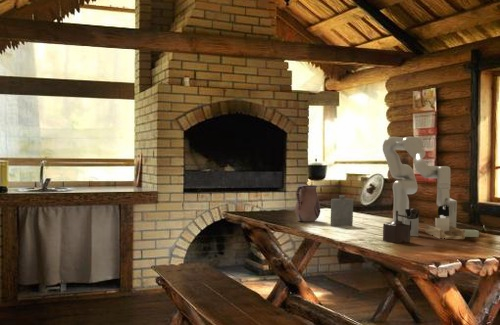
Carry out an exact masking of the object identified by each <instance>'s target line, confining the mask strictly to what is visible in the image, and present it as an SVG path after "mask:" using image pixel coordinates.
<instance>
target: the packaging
mask: <svg viewBox="0 0 500 325" xmlns="http://www.w3.org/2000/svg"><path fill="white" fill-rule="evenodd" d="M449 206H450V207H449V216H443V215H439V218H449V225H450V226H453V227H456V228H457V214H458V213H457V211H458V200H456V199H453V198H451V197H450V205H449ZM445 207H446V206H445ZM443 208H444V207H443Z"/></svg>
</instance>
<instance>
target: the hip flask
mask: <svg viewBox="0 0 500 325" xmlns="http://www.w3.org/2000/svg"><path fill="white" fill-rule="evenodd" d="M338 197H339V198H331V200H330V224H329V226H330V227H353V224H354V223H353V222H354V218H353V217H354V199H353V198H345V197H346V195H340V194H339V196H338Z"/></svg>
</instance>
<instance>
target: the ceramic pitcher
mask: <svg viewBox="0 0 500 325" xmlns="http://www.w3.org/2000/svg"><path fill="white" fill-rule="evenodd" d="M317 188H318V185H313V184H311V185H309V184H307V185H306V184H299V186H297V189H296V192H295V193H296V195H295V196H296V203H295V208H294V211H295V212H294V213H295V216H296V218H297V219H298V220H299V221H300V222H305V223H306V222H307V223H310V222H315V221H317V219H319V218H320V215H321V204H320V200H319V196H318V193H317Z"/></svg>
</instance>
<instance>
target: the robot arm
mask: <svg viewBox="0 0 500 325" xmlns="http://www.w3.org/2000/svg"><path fill="white" fill-rule="evenodd" d="M423 147H424V141H423V140H422V138H421V137H418V136H405V137H404V136H401V137H400V136H389V137H387V138H385V139H384V141H383V143H382V152H383V155H384V157H385V160H386V164H387V167H388V170H389V173H390V176H391V178H393V179H396V180H395V181H394V182H393V184H392V193H393V210H392V212H393V213H392V214H393V215H392V218H393V219H392V220H391V221H389V222H387V221H385V223H384V224H386V223H391V222H393V221H396V211H398V214H399V215H402V214H403V213H404V212H405V209H410V199H409V196H408V195H414V194H416V193H417V191H418V189H419V188H418V187H419V186H418V181H417V179H416V176H415V172H414V170H413V168H412V166H411V165H410V164H407V163H406V164H405V163H402V161H401V157H400V155H399V154H398V152H397V151H406V152H407V153H408V154H409V156H410V157H411V158H412V159H413V164H414V168H415V170H416V171H417V172H418V173H419V174H420V176H421V177H423V178H424V179H436V190H437V192H436V206H437V215H438V216H440V215H443V216H449V207H450V206H449V205H450V198H451V195H450V190H451V167H450V166H448V165H443V166H438V165H429V164H427V163H426V162H425V160H424V158H425V157H426V150H425V149H424V148H423ZM445 206H446V207H445ZM443 207H444V208H443ZM403 215H404V216H405V213H404V214H403ZM398 221H402V217H401V216H398ZM403 222H404V224H405V217H403Z"/></svg>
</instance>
